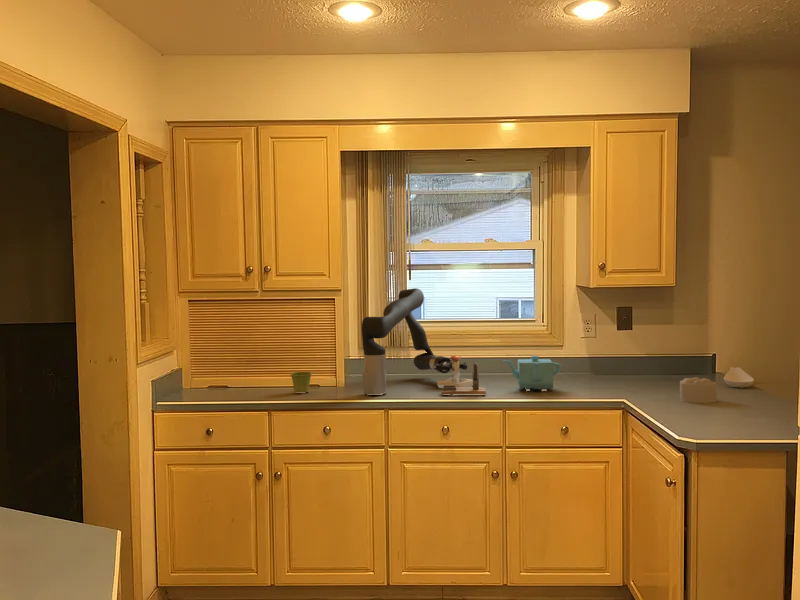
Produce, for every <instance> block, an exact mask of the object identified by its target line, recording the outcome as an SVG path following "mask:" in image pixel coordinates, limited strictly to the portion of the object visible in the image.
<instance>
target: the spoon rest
mask: <svg viewBox="0 0 800 600" xmlns="http://www.w3.org/2000/svg"><path fill="white" fill-rule="evenodd" d="M723 381H724V383H726V385H727V386H729V387H731V388H734V387H740V388H739V389H745V387H746V388H749V387H750V386H751V385H753V383H754V382H755V379H754V377H752V376H751V375H750V374H749V373H747V372H746V371H745V370H743V369H742V367H733V366H731V367H730V369H729V371H727V373H726V374H725V375H724V377H723Z"/></svg>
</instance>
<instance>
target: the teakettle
mask: <svg viewBox="0 0 800 600" xmlns="http://www.w3.org/2000/svg"><path fill="white" fill-rule="evenodd" d="M503 362H505V363H507V364H508V365H509V368H510V372H511V374H512V376H513V377H514V378H515V379H517V384H518V387H519V388H520V389H523V388H526V389H531V388H532V389H539V388H540V390H541V389H547V390H548V389H554V376H556V375H557V374H558V373H559V372H560V371H561V370H562V369H563V368H562V367H563V365H562V364H561V363H559V362H553V361H552V360H551V359H549V358H542V359H541V358H539V356H538V355H531V356H530V358H529V359H528V358H527V359H523V358H522V359H517V368H516V367H515V365H514V363H513V361H511V360H506V359H505V360H504V359H503ZM554 366H556V368H555V370H554ZM532 389H531V390H532Z"/></svg>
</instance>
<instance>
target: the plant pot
mask: <svg viewBox="0 0 800 600" xmlns="http://www.w3.org/2000/svg"><path fill="white" fill-rule="evenodd" d="M312 374H313V373H312V372H311V371H299V372H298V371H297V372H291V373H290V377H291V379H292V385H293V391H295V392H308V391H310V382H311V377H312ZM295 392H294V393H295Z"/></svg>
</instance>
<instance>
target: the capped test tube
mask: <svg viewBox="0 0 800 600" xmlns="http://www.w3.org/2000/svg"><path fill="white" fill-rule="evenodd" d="M461 359H462V358H461V356H459V355H451V356H450V360H451V361H452V370H451V371H452V372H451V374H452V377H451V378H452V382H454V383H460V379H461V378H460V369H459V362H460V360H461Z"/></svg>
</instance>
